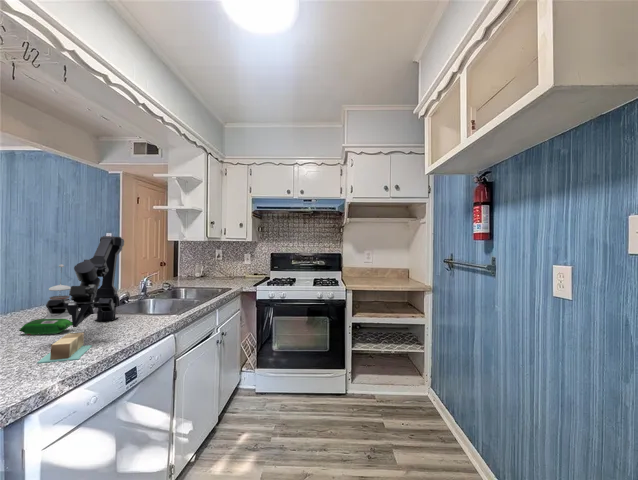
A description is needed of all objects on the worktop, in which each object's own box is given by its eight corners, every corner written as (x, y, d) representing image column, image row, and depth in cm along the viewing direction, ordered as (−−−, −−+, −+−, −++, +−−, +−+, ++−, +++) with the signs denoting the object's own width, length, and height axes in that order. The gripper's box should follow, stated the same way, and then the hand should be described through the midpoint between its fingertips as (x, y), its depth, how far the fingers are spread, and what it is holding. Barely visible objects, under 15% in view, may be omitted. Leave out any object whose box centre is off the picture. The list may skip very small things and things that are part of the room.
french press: (40, 317, 131) (43, 263, 131) (72, 313, 141) (75, 263, 141) (48, 321, 125) (51, 265, 126) (80, 316, 135) (83, 264, 136)
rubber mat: (56, 349, 97) (56, 347, 97) (91, 346, 101) (91, 345, 101) (37, 363, 86) (37, 362, 86) (78, 359, 90) (78, 358, 90)
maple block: (68, 333, 99) (51, 345, 88) (84, 332, 101) (69, 344, 89) (67, 346, 99) (50, 359, 88) (83, 345, 101) (68, 358, 89)
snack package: (65, 335, 111) (65, 322, 111) (16, 336, 107) (17, 322, 107) (76, 330, 118) (77, 317, 118) (31, 330, 114) (31, 317, 114)
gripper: (50, 276, 100) (30, 316, 89) (113, 276, 107) (102, 313, 96) (59, 294, 107) (42, 333, 96) (118, 293, 114) (108, 329, 104)
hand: (74, 326), depth 98 cm, fingers closed
